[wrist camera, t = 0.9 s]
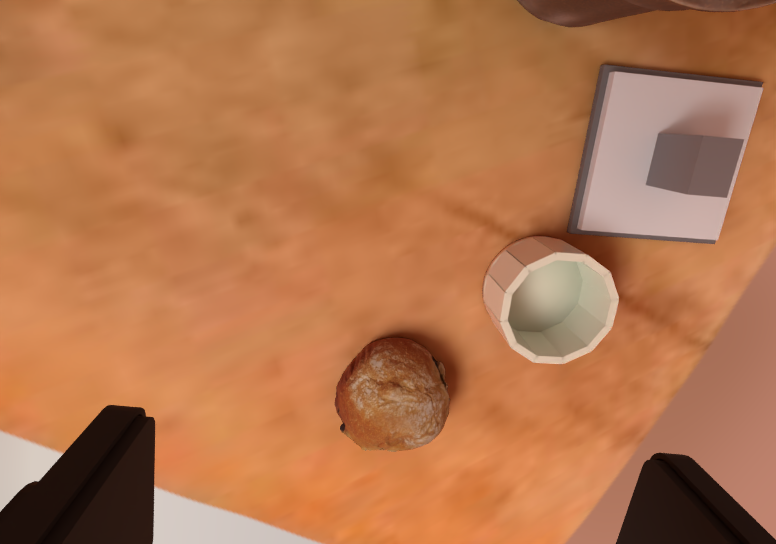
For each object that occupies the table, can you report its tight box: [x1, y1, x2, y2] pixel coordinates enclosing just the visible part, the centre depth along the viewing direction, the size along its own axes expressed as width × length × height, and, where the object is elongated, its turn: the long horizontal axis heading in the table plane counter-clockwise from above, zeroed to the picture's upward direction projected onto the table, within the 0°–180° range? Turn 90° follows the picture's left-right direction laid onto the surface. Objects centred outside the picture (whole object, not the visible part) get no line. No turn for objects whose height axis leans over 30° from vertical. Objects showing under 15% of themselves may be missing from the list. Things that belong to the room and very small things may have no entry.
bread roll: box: [335, 337, 450, 452], centre depth 42 cm, size 10×10×8 cm
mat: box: [567, 65, 763, 244], centre depth 39 cm, size 13×13×1 cm
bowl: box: [482, 236, 619, 364], centre depth 39 cm, size 9×9×6 cm
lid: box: [577, 72, 763, 240], centre depth 36 cm, size 12×12×6 cm
